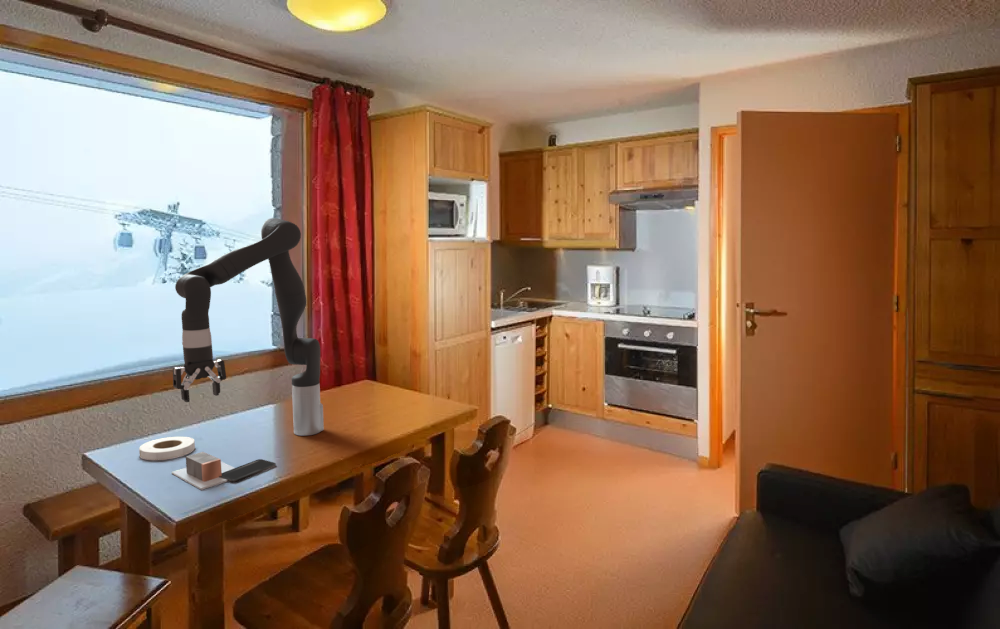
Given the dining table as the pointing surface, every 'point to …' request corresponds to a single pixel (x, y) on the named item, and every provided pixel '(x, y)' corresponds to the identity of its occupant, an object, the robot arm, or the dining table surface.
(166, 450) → the roll of tape
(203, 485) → the mat
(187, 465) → the block
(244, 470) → the phone
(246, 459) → the dining table surface
